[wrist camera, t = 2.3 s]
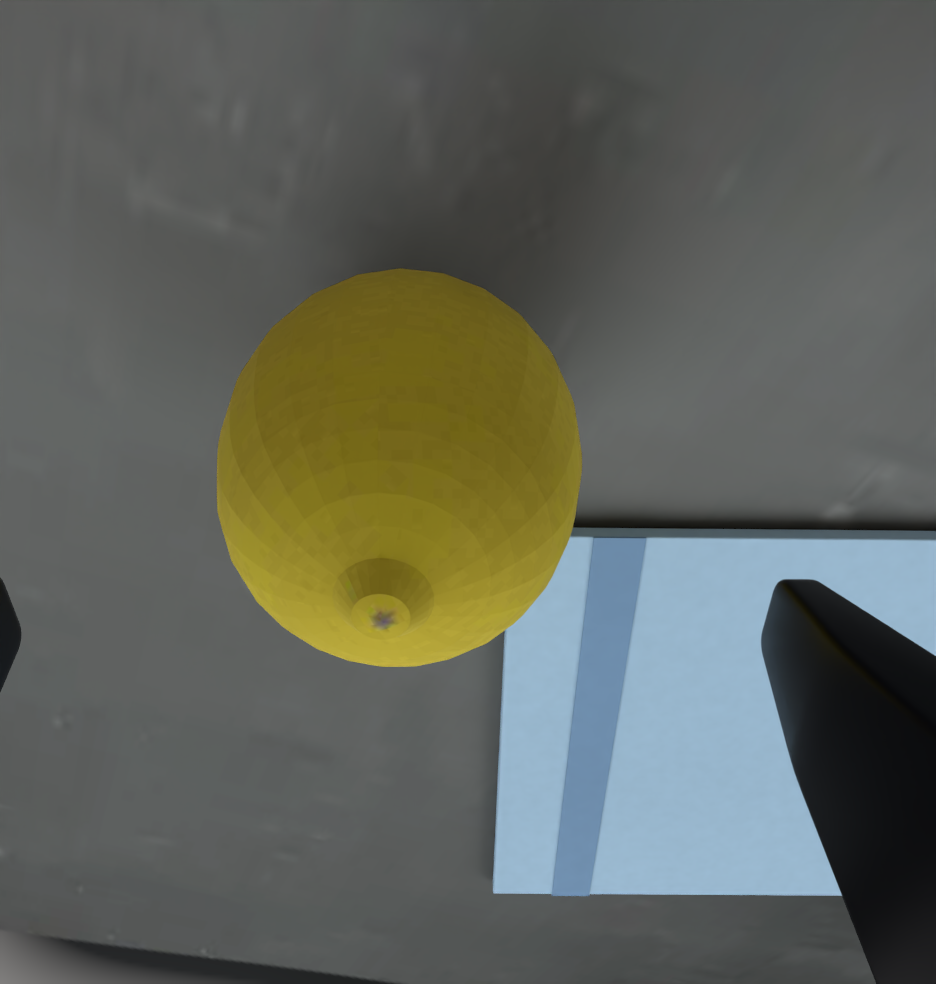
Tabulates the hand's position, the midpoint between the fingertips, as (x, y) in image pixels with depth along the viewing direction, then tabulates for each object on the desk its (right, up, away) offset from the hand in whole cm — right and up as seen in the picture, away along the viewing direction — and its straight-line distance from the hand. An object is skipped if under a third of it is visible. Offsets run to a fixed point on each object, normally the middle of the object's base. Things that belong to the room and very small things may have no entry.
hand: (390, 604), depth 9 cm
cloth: (+12, -6, +12) cm, 18 cm away
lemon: (0, +4, +7) cm, 8 cm away
